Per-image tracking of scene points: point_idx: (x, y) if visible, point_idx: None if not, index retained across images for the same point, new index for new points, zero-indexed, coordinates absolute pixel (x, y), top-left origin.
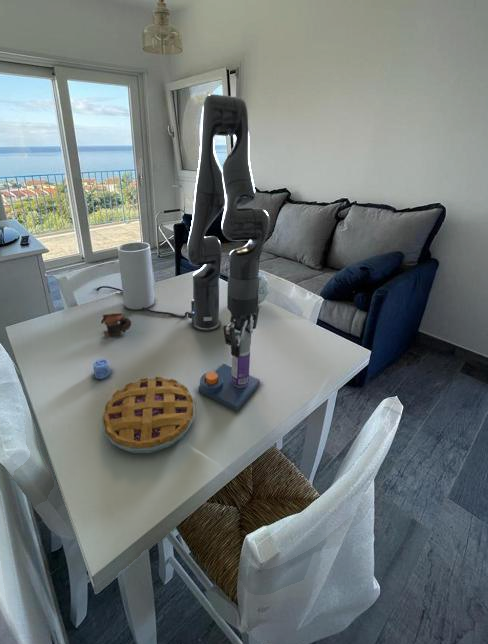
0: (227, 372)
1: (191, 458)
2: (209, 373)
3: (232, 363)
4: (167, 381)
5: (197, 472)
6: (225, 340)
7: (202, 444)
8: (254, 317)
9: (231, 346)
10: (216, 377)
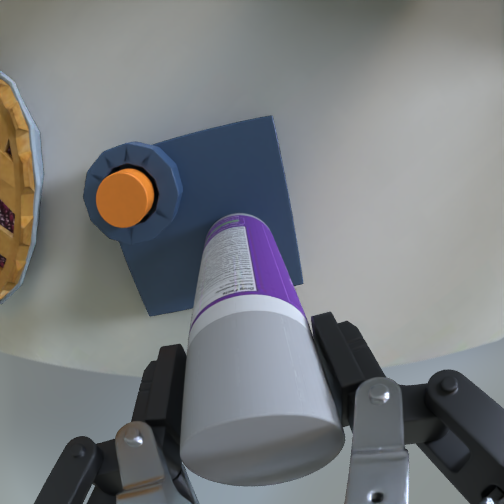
0: (240, 172)
1: (17, 319)
2: (121, 182)
3: (198, 282)
4: (2, 112)
5: (22, 342)
6: (54, 473)
7: (40, 313)
8: (467, 491)
9: (134, 417)
10: (130, 224)
